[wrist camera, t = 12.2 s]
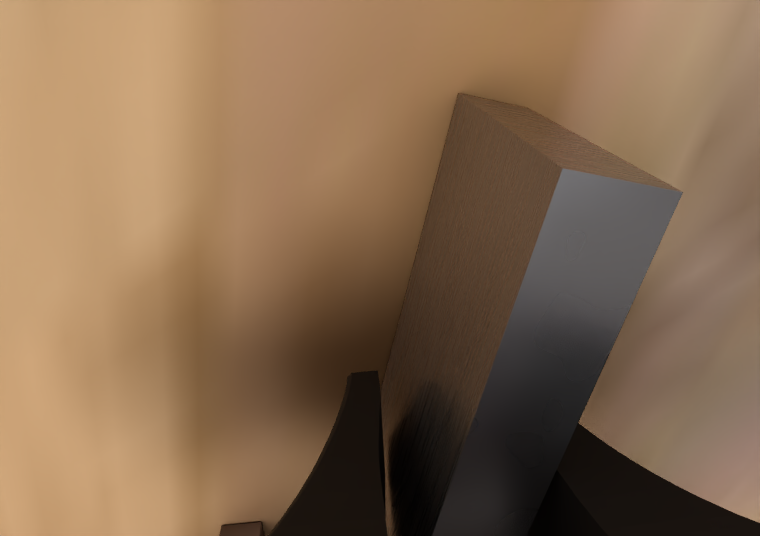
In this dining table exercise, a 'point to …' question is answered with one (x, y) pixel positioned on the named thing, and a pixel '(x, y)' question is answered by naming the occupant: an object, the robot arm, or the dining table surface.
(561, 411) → the steel block
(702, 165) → the dining table surface
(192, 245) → the dining table surface
